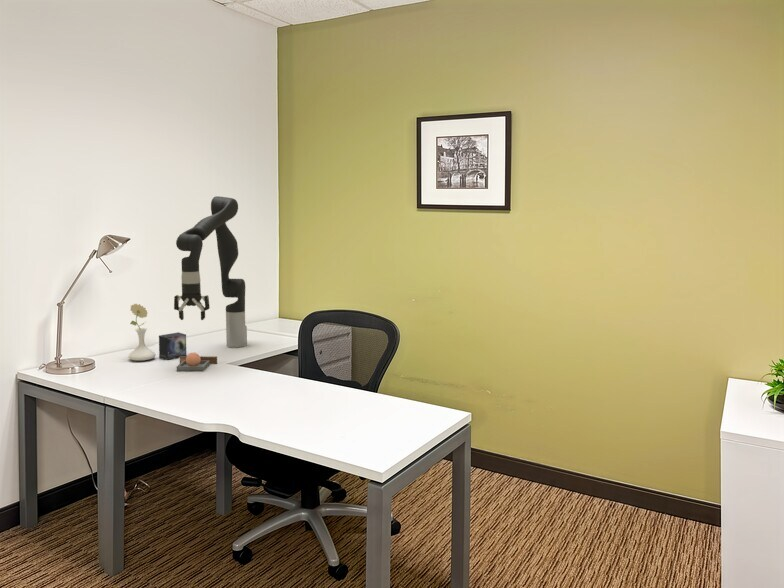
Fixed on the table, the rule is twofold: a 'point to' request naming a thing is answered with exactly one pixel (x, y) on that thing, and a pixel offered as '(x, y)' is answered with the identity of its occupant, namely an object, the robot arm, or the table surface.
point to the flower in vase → (140, 336)
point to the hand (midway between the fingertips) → (192, 319)
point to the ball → (193, 359)
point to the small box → (172, 346)
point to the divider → (212, 359)
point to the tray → (200, 367)
